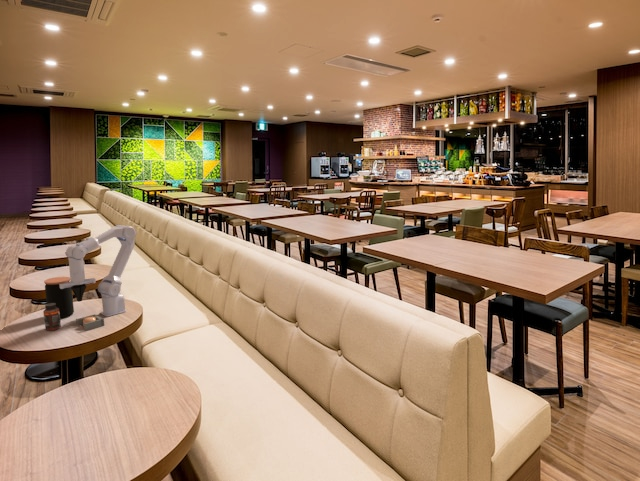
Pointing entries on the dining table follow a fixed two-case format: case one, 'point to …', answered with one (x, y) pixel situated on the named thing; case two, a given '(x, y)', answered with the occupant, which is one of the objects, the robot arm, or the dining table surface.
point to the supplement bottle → (52, 317)
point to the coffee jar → (59, 295)
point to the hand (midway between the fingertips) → (79, 300)
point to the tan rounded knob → (88, 319)
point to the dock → (93, 324)
